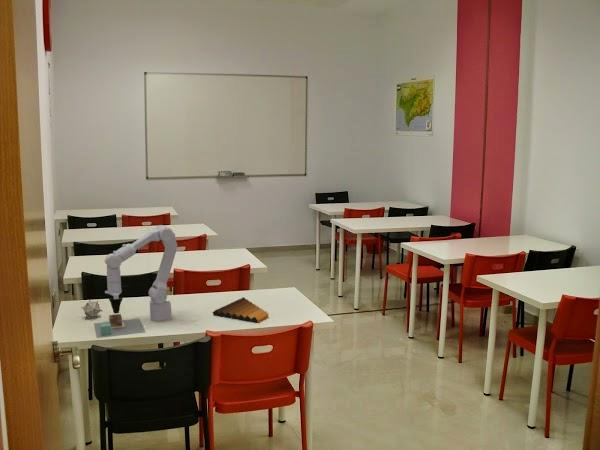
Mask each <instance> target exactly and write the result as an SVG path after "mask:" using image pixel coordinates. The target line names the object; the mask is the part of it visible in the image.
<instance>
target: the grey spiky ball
mask: <svg viewBox="0 0 600 450" xmlns="http://www.w3.org/2000/svg"><path fill="white" fill-rule="evenodd" d="M98 302H99V300H97V301H91V299H89V301H88V302H86V304H85V305H84V306H83V307H82V306H81V309H83V311H84V315H85V318H87V317H90V318H93V320H95V318H96V315H97V316H98V314H99V313H101V312H103V310H102V309H101V307H100V304H99V303H98Z"/></svg>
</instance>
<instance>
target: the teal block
mask: <svg viewBox="0 0 600 450" xmlns="http://www.w3.org/2000/svg"><path fill="white" fill-rule="evenodd" d="M100 327H101V336H105V335H111V324H110V323H105V324H100Z"/></svg>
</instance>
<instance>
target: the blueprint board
mask: <svg viewBox="0 0 600 450" xmlns="http://www.w3.org/2000/svg"><path fill="white" fill-rule="evenodd" d="M105 323H109V321H105V322H104V321H103V322H95V323H93V326H94V331H95V335H96V339H102V338H109V337H110V338H111V337H117V336H118V337H119V336H126V335H134V334H135V335H136V334H144V333H146V330H145V328H144V325H143V323H142V321H141V319H140V318H132V319H122V326H117V327H111V335H105V336H101V327H100V324H105Z"/></svg>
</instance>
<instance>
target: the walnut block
mask: <svg viewBox="0 0 600 450" xmlns="http://www.w3.org/2000/svg"><path fill="white" fill-rule="evenodd" d="M122 320H123V316H122V315H121V313H116V314H110V315H109V314H108V322H109V323H110V324H111V327H117V326H122Z"/></svg>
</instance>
